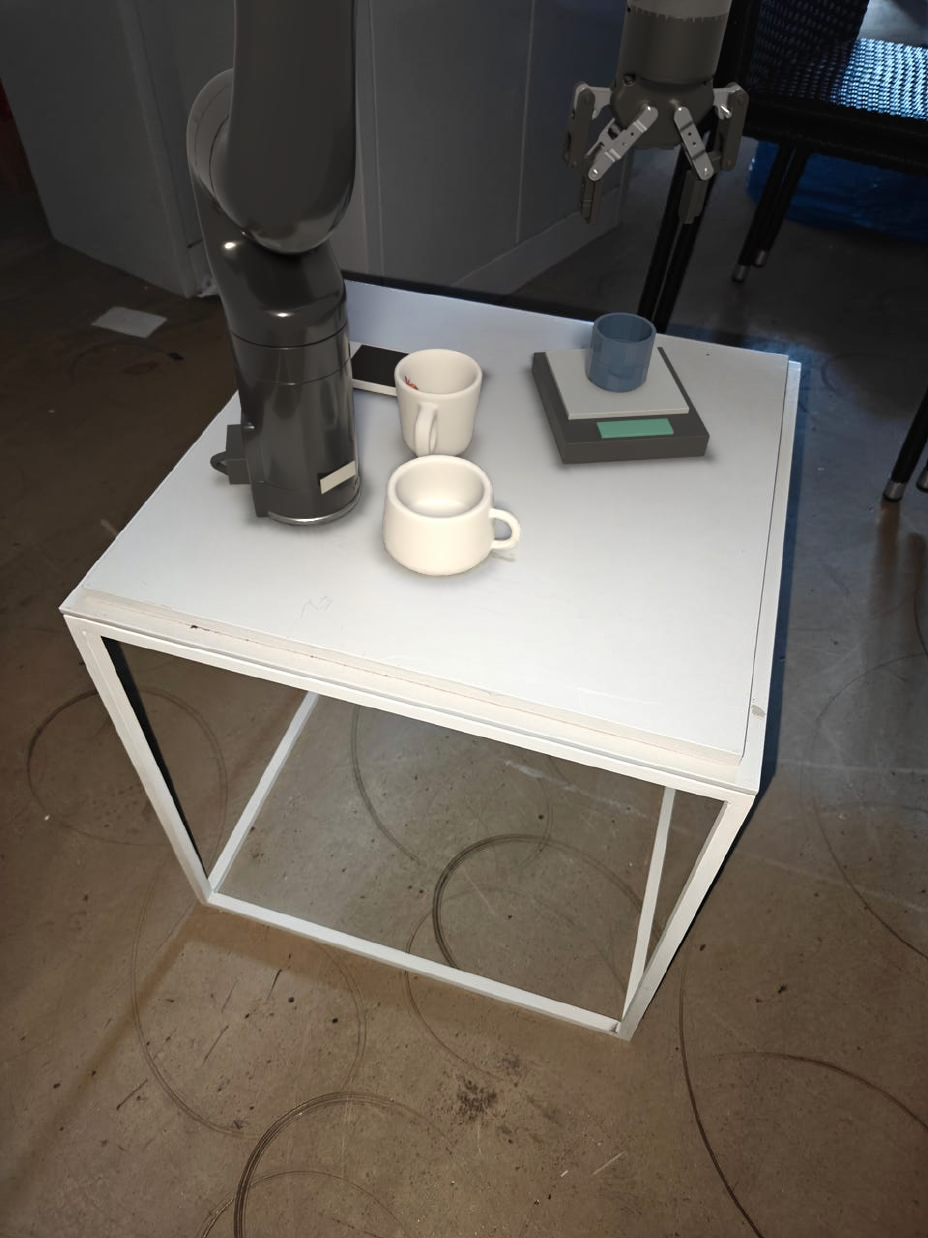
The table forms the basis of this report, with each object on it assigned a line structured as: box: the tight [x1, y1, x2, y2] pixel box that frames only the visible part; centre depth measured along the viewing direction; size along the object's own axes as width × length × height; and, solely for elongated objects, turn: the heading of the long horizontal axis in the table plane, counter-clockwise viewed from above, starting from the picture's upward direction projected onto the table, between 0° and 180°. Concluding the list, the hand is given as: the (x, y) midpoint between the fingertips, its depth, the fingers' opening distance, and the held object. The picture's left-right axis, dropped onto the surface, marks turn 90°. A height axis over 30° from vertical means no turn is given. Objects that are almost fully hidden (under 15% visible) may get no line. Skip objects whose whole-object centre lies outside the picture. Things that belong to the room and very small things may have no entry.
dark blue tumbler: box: [586, 312, 657, 393], centre depth 88 cm, size 6×6×6 cm
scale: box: [531, 345, 711, 465], centre depth 90 cm, size 14×16×3 cm
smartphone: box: [350, 340, 413, 397], centre depth 93 cm, size 7×16×1 cm, turn 73°
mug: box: [382, 455, 522, 577], centre depth 75 cm, size 12×10×6 cm
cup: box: [394, 348, 483, 458], centre depth 83 cm, size 11×8×8 cm
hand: (637, 220), depth 77 cm, fingers open, 8 cm apart
